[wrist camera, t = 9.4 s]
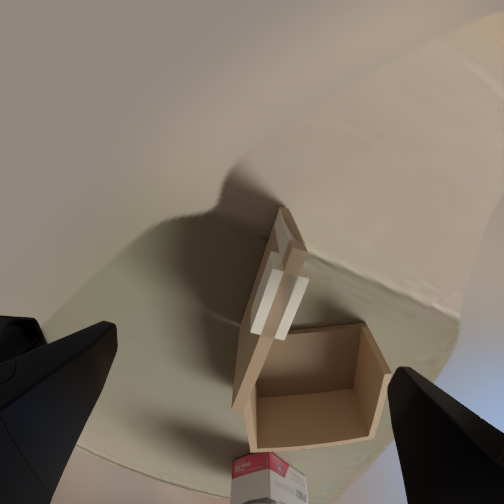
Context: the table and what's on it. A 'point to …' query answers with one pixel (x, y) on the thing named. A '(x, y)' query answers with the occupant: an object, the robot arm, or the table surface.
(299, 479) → the ink box
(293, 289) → the end flap
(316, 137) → the table surface
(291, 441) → the carton
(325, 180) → the table surface
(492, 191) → the table surface
